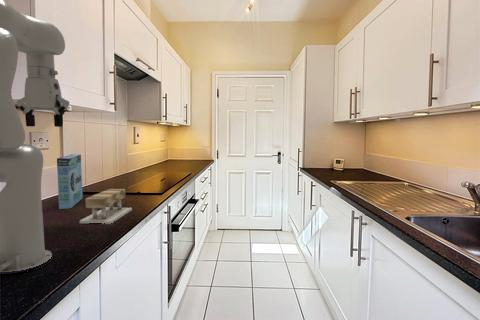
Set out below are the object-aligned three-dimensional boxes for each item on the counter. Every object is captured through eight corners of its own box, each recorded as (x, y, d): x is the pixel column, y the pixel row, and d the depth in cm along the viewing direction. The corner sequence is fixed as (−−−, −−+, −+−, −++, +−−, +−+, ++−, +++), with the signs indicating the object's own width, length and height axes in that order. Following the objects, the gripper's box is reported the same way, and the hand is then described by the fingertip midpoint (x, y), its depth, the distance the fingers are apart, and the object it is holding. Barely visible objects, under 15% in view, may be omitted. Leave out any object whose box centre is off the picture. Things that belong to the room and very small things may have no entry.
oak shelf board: (109, 196, 125) (109, 188, 124) (125, 197, 124) (125, 189, 124) (85, 207, 107) (85, 198, 107) (103, 208, 107) (103, 199, 106)
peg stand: (110, 224, 107) (110, 208, 106) (79, 223, 107) (78, 207, 107) (132, 209, 126) (131, 196, 125) (105, 209, 126) (105, 196, 126)
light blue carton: (72, 199, 144) (70, 154, 142) (83, 198, 146) (81, 154, 143) (58, 209, 126) (55, 158, 123) (71, 208, 127) (68, 158, 124)
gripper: (74, 76, 97) (76, 126, 99) (25, 76, 98) (28, 126, 99) (59, 72, 89) (62, 126, 91) (6, 72, 90) (10, 126, 92)
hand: (44, 126), depth 95 cm, fingers open, 9 cm apart
